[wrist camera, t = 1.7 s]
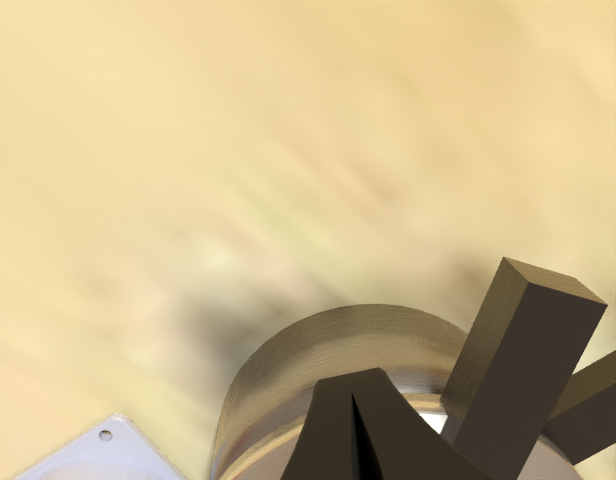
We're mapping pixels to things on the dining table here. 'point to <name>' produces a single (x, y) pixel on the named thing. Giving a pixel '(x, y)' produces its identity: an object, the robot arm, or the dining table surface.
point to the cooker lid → (491, 381)
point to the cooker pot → (399, 368)
